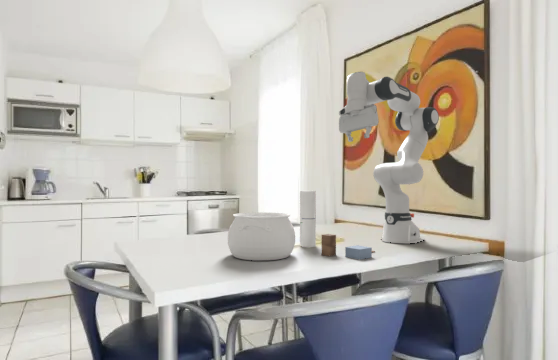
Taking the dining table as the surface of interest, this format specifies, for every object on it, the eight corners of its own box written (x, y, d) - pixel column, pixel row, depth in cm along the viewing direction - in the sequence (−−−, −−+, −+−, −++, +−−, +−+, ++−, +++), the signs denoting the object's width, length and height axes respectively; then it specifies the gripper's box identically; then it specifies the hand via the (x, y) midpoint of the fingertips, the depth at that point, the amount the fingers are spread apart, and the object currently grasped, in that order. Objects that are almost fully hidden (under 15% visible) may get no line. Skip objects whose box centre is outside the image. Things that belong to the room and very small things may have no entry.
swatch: (361, 249, 160) (361, 248, 160) (375, 252, 155) (375, 251, 155) (353, 251, 157) (353, 250, 157) (367, 253, 152) (367, 252, 152)
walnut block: (328, 253, 151) (328, 233, 152) (335, 255, 148) (335, 234, 149) (321, 254, 149) (321, 234, 149) (329, 256, 146) (329, 235, 146)
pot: (288, 265, 130) (288, 218, 130) (215, 262, 135) (216, 217, 135) (300, 250, 159) (300, 212, 159) (240, 248, 164) (240, 211, 164)
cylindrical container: (310, 247, 165) (310, 191, 165) (296, 246, 169) (296, 190, 170) (318, 245, 171) (318, 190, 171) (305, 244, 175) (305, 190, 175)
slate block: (357, 255, 149) (357, 245, 149) (371, 258, 144) (371, 247, 144) (345, 257, 145) (345, 247, 145) (359, 260, 140) (359, 249, 140)
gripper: (381, 103, 158) (382, 136, 156) (346, 114, 174) (347, 144, 173) (371, 101, 154) (372, 134, 153) (336, 112, 171) (337, 142, 169)
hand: (358, 139), depth 163 cm, fingers open, 8 cm apart
